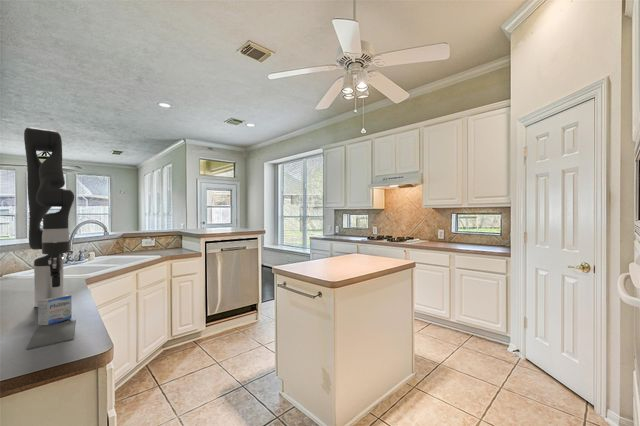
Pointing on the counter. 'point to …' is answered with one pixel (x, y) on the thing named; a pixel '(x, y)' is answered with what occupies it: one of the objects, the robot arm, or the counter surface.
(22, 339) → the counter surface
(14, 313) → the counter surface
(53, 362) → the counter surface
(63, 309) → the medicine box
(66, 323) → the mat
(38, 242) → the robot arm
